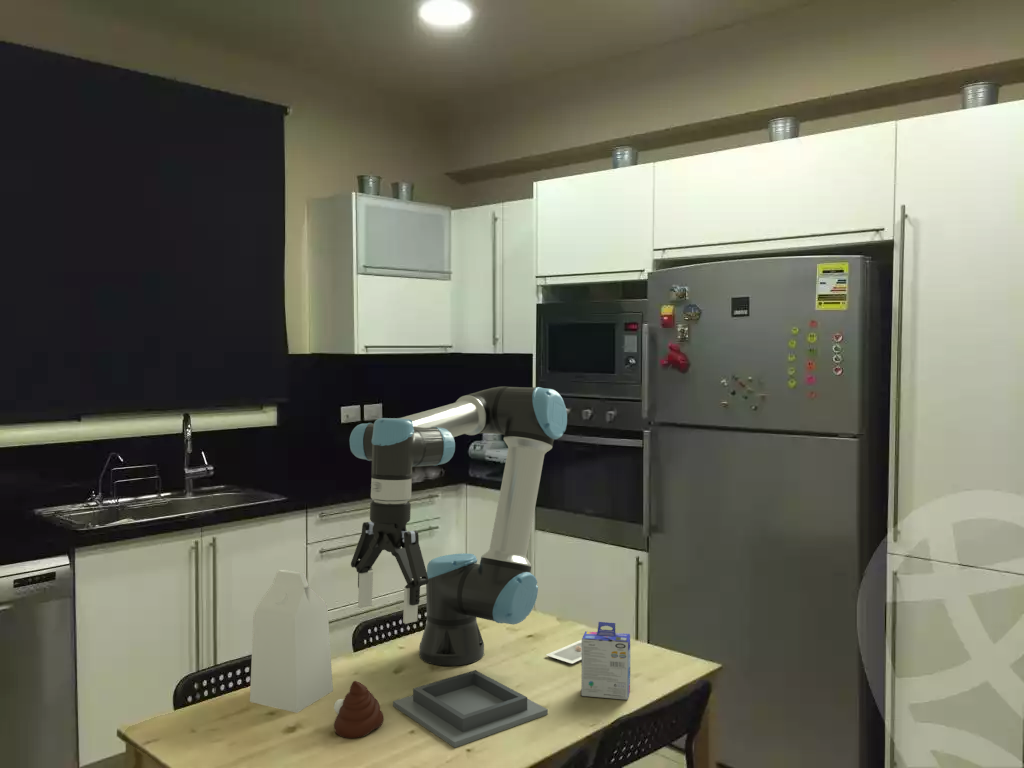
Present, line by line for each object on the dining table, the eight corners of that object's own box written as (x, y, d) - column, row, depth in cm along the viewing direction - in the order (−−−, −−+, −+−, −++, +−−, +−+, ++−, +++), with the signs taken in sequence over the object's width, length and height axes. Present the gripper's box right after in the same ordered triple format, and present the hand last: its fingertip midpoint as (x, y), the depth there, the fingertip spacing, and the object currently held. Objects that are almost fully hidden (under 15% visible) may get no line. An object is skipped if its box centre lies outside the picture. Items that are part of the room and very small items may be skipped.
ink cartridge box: (630, 690, 175) (631, 622, 174) (629, 701, 169) (629, 631, 168) (584, 686, 177) (584, 619, 176) (580, 697, 171) (581, 627, 170)
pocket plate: (393, 706, 167) (392, 688, 166) (481, 678, 180) (481, 663, 180) (454, 747, 149) (454, 728, 149) (547, 714, 163) (547, 696, 163)
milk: (332, 690, 174) (331, 568, 173) (296, 712, 164) (295, 582, 162) (287, 681, 179) (286, 561, 178) (249, 701, 169) (248, 575, 167)
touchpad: (545, 659, 193) (545, 650, 193) (584, 642, 204) (584, 634, 204) (571, 668, 187) (571, 658, 187) (610, 650, 198) (610, 641, 198)
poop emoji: (357, 744, 151) (356, 693, 150) (322, 732, 155) (322, 683, 155) (392, 723, 159) (392, 675, 159) (359, 713, 164) (359, 666, 163)
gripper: (335, 494, 161) (331, 603, 161) (418, 511, 144) (414, 633, 144) (366, 491, 167) (363, 597, 167) (450, 507, 150) (446, 625, 150)
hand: (386, 614), depth 156 cm, fingers open, 13 cm apart
